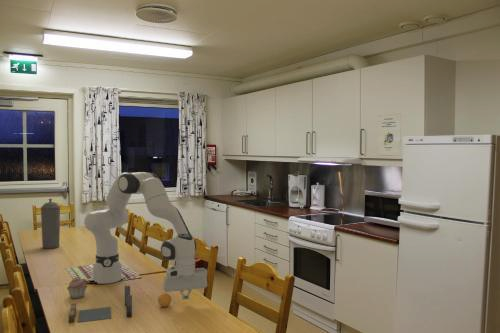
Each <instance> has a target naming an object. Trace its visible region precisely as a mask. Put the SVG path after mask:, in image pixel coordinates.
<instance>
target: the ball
mask: <svg viewBox="0 0 500 333" xmlns="http://www.w3.org/2000/svg"><path fill="white" fill-rule="evenodd" d="M171 302H172V297H171V295H170V294H168V293H167V292H165V293H161V294H160V295H159V296H158V297H157V303H158V305H159V306H160V307H162V308H167V307H169V306H170V305H171Z"/></svg>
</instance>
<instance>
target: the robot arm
mask: <svg viewBox="0 0 500 333" xmlns="http://www.w3.org/2000/svg"><path fill="white" fill-rule="evenodd" d="M140 194H141V195H143V198H144V199H143V200H144V201H145V204H146V208H147V211H148V212H149V213H150V215H151V216H153V217H156V218H159V219H163V220H166V221H168V222H169V223H171V224H172V226H173V228H174V230H175V232H176V234H177V236H175V237H174V238H171V239H167V240H164V241H163V242H162V244H161V246H160V253H161V256H162V257H163V258H164V259H165V260H167V261H175V264H174V265H173V266H170V267H168V268H166V269H165V273H166V274H165V276H164V278H163V283H162V284H163V286H162V288H163V291H164V292H165V293H170V292H178V291H179V292H180V295H181V299H182V300H189V299H190V295H191V293H192V290H197V289H205V288H207V287H208V279H207V278H208V270H207V268H205V267H200V268H199V267H197V268H196V261H195V255H196V251H197V242H196V240H195V238H194V236H193V235H192V234H191V232H190V230H189V228H188V226H187V225H186V222H185V220H184V218H183V216H182V214H181V212H180V211H179V209H178V208H177V207H176V206H175V205H174V204H173V203H172V202H171V200H170V199H169V196H168V193H167V190H166V188H165V186H164V185H163V183H162V181H161V179H160V178H159V176H158V175H157V174H155V173H154V172H145V171H138V172H121V173H120V174H119V175H118V176H117V178H116V179H115V181H114V182H113V183H112V186H111V187H110V189H109V191H108V193H107V195H106V197H105V201H106V204H107V206H108V207H107V208H105V209H98V210H94V211H92V212H89V213H87V214H86V215H85V217H84V222H83V223H84V227H85V228H86V230H88V231H89V232H91V233H92V235H93V237H94V239H95V244H96V245H95V246H96V248H95V249H96V254H95V264H93V265H92V275H91V277H90V278H89V279H88V281H89V280H94V281H95V282H97V283H96V284H99V285H100V284H103V285H104V284H113V283H117V282H120V281H121V279H122V280H124V278H125V279H126V275H125V274H123V269H122V268H123V267H122V265H123V264H122V263H121V262H120V261H119V259H120V255H119V254H120V253H119V241H118V238H117V237H116V236H114V235H112V233H111V229H117V228H120V227H122V226H124V225H126V224H127V223H128V221H129V214H128V211H127V210H126V207H127V205H128V203H129V201H130V199H131V197H132V196H133V195H140ZM92 278H93V279H92ZM95 282H94V283H95ZM184 291H187V293H186V294H185V293H184Z"/></svg>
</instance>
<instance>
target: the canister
mask: <svg viewBox="0 0 500 333" xmlns="http://www.w3.org/2000/svg"><path fill="white" fill-rule="evenodd" d="M52 200H53V198H49V199H48V202H45V203H43V205H41V207H40V219H41V242H42V243H41V245H42V248H43V249H46V250H47V249H49V250H50V249H57V248H58V247H59V246H60V234H61V233H60V231H61V230H60V224H61V206H60V205H59V204H58V203H57V202H55V201H52Z"/></svg>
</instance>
